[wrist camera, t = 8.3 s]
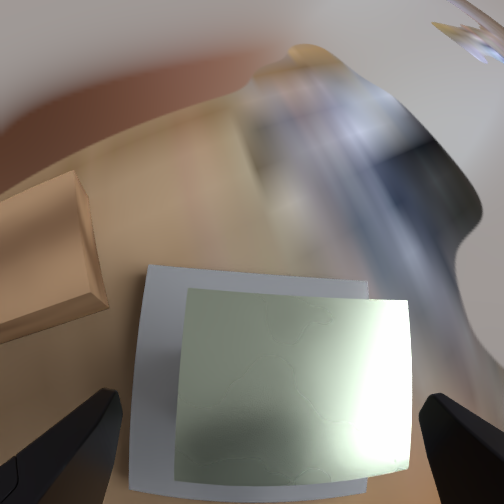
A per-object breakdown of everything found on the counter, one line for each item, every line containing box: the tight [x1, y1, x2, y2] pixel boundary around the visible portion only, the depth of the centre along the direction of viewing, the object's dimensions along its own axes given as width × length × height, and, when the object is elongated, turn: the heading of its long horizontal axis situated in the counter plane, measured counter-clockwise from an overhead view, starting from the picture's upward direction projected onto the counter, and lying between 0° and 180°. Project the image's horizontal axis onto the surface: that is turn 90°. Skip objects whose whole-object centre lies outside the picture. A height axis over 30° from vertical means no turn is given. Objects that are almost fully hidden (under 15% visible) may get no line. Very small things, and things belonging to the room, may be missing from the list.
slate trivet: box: [129, 265, 369, 503], centre depth 15 cm, size 12×12×2 cm
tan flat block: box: [0, 170, 109, 344], centre depth 15 cm, size 8×10×3 cm
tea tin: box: [174, 288, 412, 486], centre depth 10 cm, size 4×5×9 cm
